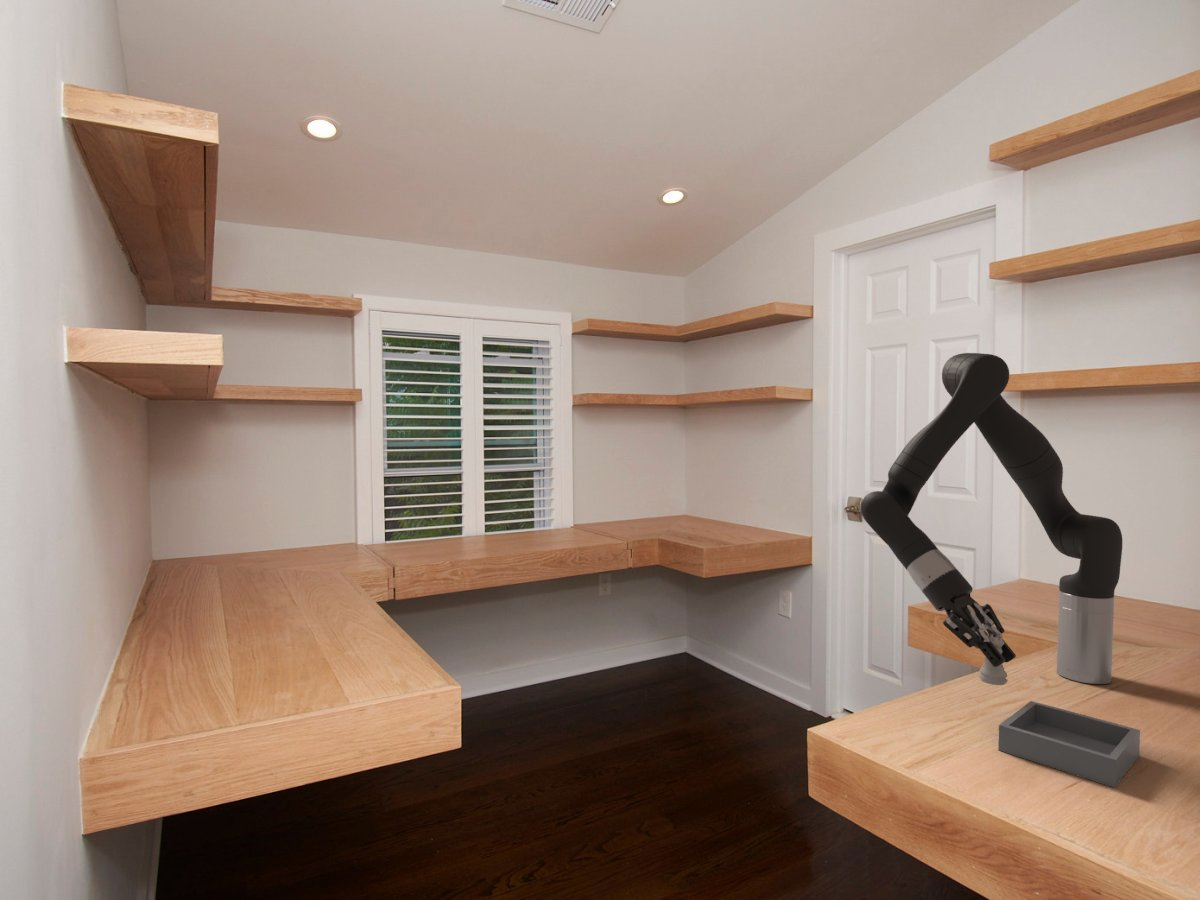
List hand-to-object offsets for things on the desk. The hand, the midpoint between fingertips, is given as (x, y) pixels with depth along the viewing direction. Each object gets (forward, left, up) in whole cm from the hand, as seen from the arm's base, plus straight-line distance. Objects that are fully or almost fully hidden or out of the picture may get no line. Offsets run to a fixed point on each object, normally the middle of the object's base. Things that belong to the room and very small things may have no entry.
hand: (1005, 661), depth 120 cm
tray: (+6, +11, -10) cm, 16 cm away
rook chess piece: (0, -2, -4) cm, 5 cm away
